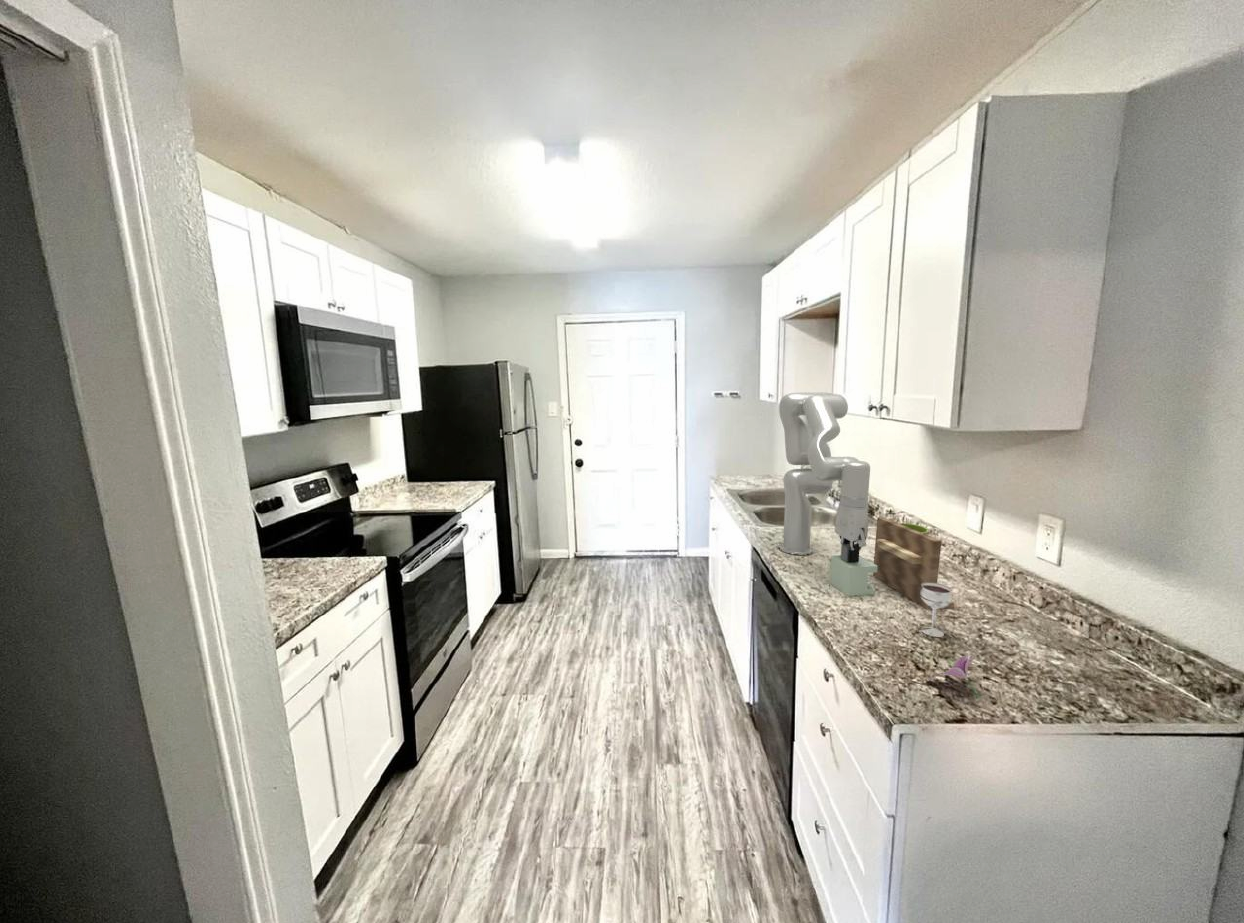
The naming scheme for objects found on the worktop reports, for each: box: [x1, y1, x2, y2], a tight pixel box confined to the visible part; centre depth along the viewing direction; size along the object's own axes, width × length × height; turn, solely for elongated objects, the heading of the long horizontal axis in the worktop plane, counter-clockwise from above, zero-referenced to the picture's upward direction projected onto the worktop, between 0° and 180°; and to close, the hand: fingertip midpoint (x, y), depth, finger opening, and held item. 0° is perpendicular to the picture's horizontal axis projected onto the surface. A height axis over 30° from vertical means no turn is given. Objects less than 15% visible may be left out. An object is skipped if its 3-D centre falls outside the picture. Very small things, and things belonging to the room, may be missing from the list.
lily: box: [925, 650, 984, 699], centre depth 96 cm, size 12×12×10 cm
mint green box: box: [829, 543, 877, 597], centre depth 144 cm, size 10×9×14 cm
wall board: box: [872, 516, 955, 610], centre depth 142 cm, size 24×10×20 cm, turn 7°
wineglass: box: [920, 582, 953, 638], centre depth 118 cm, size 7×7×12 cm
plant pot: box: [897, 522, 929, 535], centre depth 170 cm, size 12×12×11 cm
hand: (849, 559), depth 144 cm, fingers closed on mint green box, 3 cm apart
